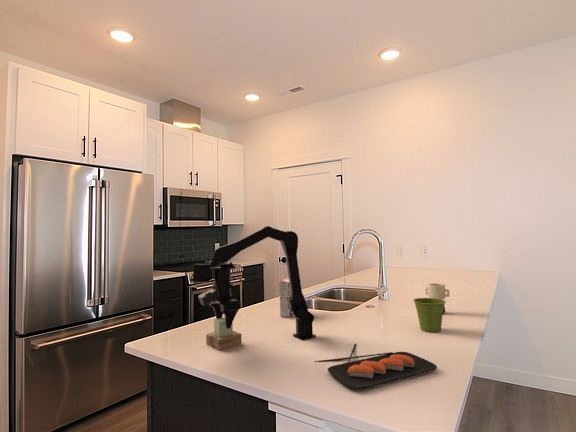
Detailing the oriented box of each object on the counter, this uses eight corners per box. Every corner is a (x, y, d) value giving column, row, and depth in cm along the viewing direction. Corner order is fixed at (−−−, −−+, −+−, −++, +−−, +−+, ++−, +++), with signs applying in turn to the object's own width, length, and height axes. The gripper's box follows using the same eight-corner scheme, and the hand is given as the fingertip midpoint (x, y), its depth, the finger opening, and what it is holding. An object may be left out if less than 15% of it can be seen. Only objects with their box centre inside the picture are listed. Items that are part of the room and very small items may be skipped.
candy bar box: (284, 311, 165) (283, 278, 166) (294, 311, 164) (293, 278, 165) (279, 317, 154) (278, 281, 155) (290, 317, 153) (289, 281, 154)
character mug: (453, 313, 154) (451, 284, 154) (447, 316, 149) (446, 286, 149) (429, 309, 161) (427, 282, 162) (423, 312, 156) (421, 284, 157)
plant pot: (451, 329, 130) (450, 299, 131) (441, 336, 122) (439, 305, 122) (421, 323, 138) (420, 296, 139) (409, 330, 130) (407, 301, 130)
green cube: (232, 334, 119) (232, 320, 119) (219, 336, 117) (219, 322, 117) (227, 331, 123) (227, 317, 124) (214, 333, 121) (213, 319, 121)
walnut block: (241, 345, 119) (241, 333, 119) (219, 351, 113) (218, 339, 114) (228, 339, 126) (228, 328, 126) (206, 345, 120) (206, 334, 120)
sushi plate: (353, 397, 80) (353, 381, 81) (299, 356, 108) (299, 344, 108) (442, 374, 92) (441, 359, 92) (373, 341, 120) (373, 330, 120)
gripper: (192, 281, 124) (193, 323, 124) (209, 287, 109) (209, 336, 108) (221, 278, 130) (222, 318, 130) (241, 283, 114) (242, 330, 114)
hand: (223, 325), depth 120 cm, fingers open, 9 cm apart
